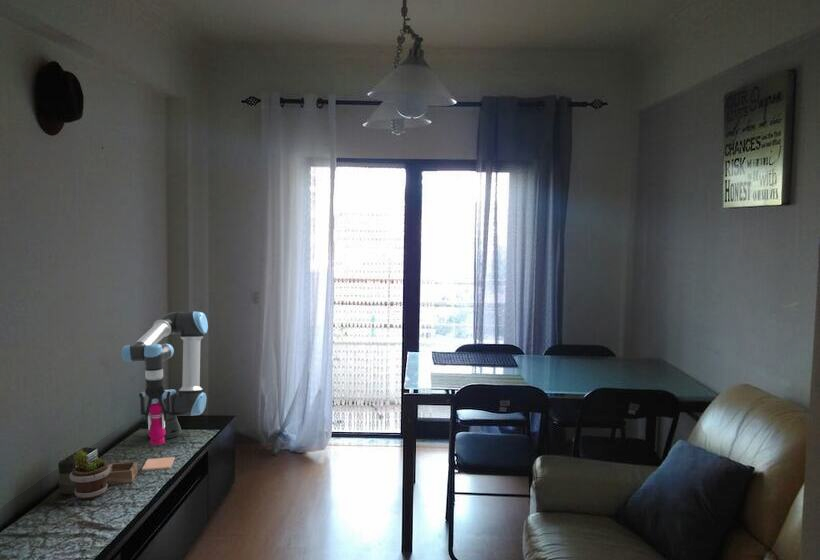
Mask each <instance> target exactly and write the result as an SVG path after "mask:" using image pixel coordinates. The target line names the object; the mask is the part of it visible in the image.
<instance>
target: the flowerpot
mask: <svg viewBox="0 0 820 560" xmlns="http://www.w3.org/2000/svg"><path fill="white" fill-rule="evenodd" d="M89 457H90V456H89V455H88V452H87V451H84V450H81V449H80V448H78V449H76V451H75V454H74V455H73V457H72V458H73V459H72V462H74V463H73V466H75V467H76V466H77V467H76V468H75V467H74V468H72V471H71V472H70V473H69V477H68V479H70V481H71V482H72V483H73V486H74V488H75V489H74V495H75V496H76V497H77V498H78V499H79V498H80V500H82V499H87V500H93V499H94V498H95V497H97V498H99V496H100V497H101V495H102V496H103V495H105V492H106V491H108V490H107V489H108V486H109V484H107V483H106V482H107V477H108V474H109V473H110V469H111V468H110V466H109V465H110V464H108V463H107V462H106V461H103V459H102V458H101V457H98V456H94V458H93V459H92V460H91V461H89ZM92 498H93V499H92ZM95 499H96V498H95Z"/></svg>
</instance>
